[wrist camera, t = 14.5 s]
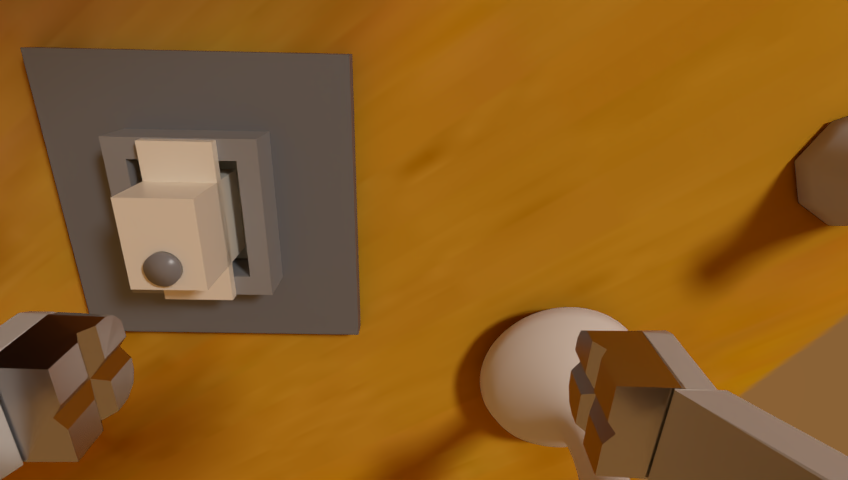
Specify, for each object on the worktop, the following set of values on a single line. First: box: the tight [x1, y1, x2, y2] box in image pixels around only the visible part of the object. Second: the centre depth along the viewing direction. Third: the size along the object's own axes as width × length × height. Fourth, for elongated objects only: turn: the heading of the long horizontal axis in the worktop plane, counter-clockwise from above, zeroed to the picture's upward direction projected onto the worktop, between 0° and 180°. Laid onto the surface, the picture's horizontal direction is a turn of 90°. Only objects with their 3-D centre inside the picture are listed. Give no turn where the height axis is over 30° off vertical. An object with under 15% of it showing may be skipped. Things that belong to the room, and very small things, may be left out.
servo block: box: [111, 138, 245, 300], centre depth 28 cm, size 9×4×6 cm, turn 179°
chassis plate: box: [20, 47, 360, 335], centre depth 30 cm, size 18×18×4 cm
